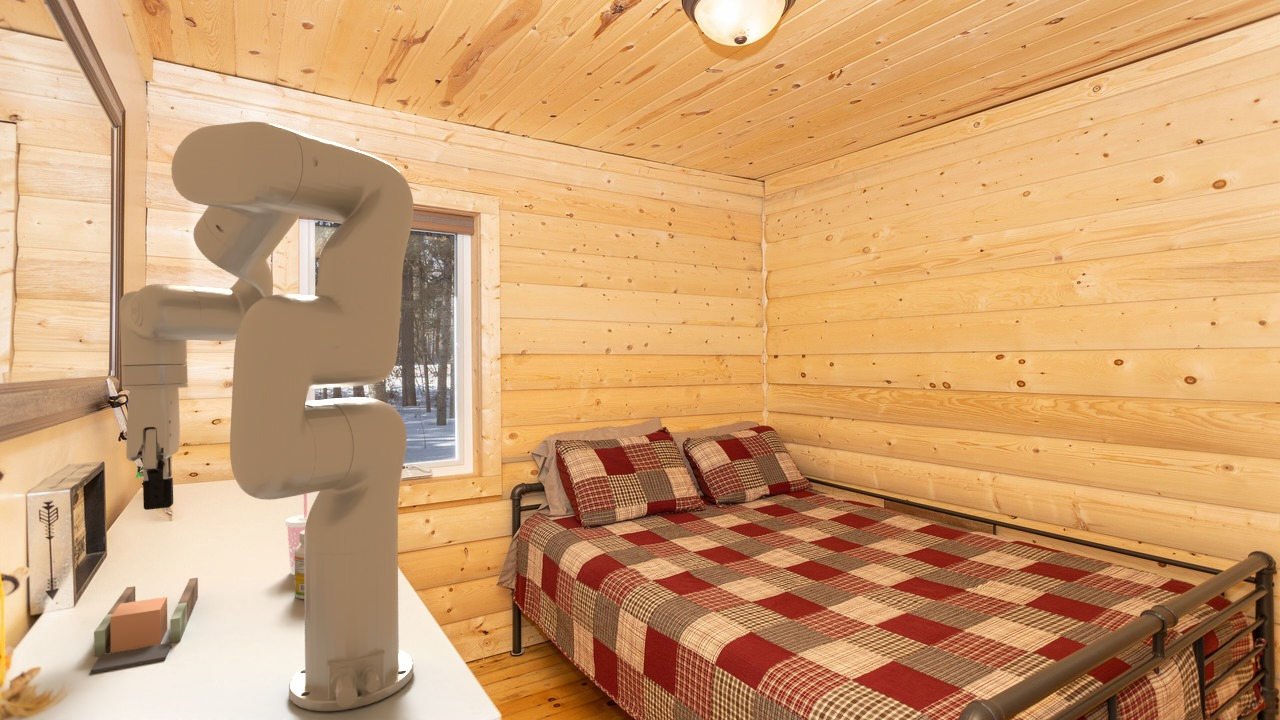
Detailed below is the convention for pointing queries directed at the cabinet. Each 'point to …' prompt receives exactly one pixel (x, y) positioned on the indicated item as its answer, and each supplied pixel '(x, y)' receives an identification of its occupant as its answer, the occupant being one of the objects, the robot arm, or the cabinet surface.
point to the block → (138, 624)
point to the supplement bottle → (299, 568)
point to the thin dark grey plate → (131, 658)
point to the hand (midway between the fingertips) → (158, 507)
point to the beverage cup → (295, 533)
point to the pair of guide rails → (176, 622)
